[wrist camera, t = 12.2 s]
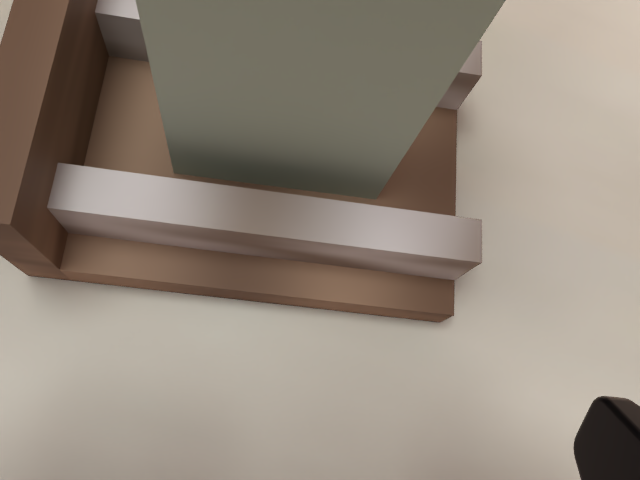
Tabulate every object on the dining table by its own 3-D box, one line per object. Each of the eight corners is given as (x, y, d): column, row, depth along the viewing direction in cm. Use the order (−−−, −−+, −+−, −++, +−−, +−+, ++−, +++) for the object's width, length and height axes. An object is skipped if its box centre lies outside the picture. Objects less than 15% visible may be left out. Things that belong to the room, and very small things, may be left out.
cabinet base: (445, 71, 21) (508, -31, 16) (439, 322, 18) (513, 286, 13) (92, 13, 20) (48, -117, 15) (27, 275, 17) (-52, 217, 12)
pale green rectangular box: (379, 125, 19) (674, -459, 6) (375, 199, 18) (701, -303, 6) (186, 97, 18) (92, -621, 6) (173, 173, 17) (31, -469, 5)
